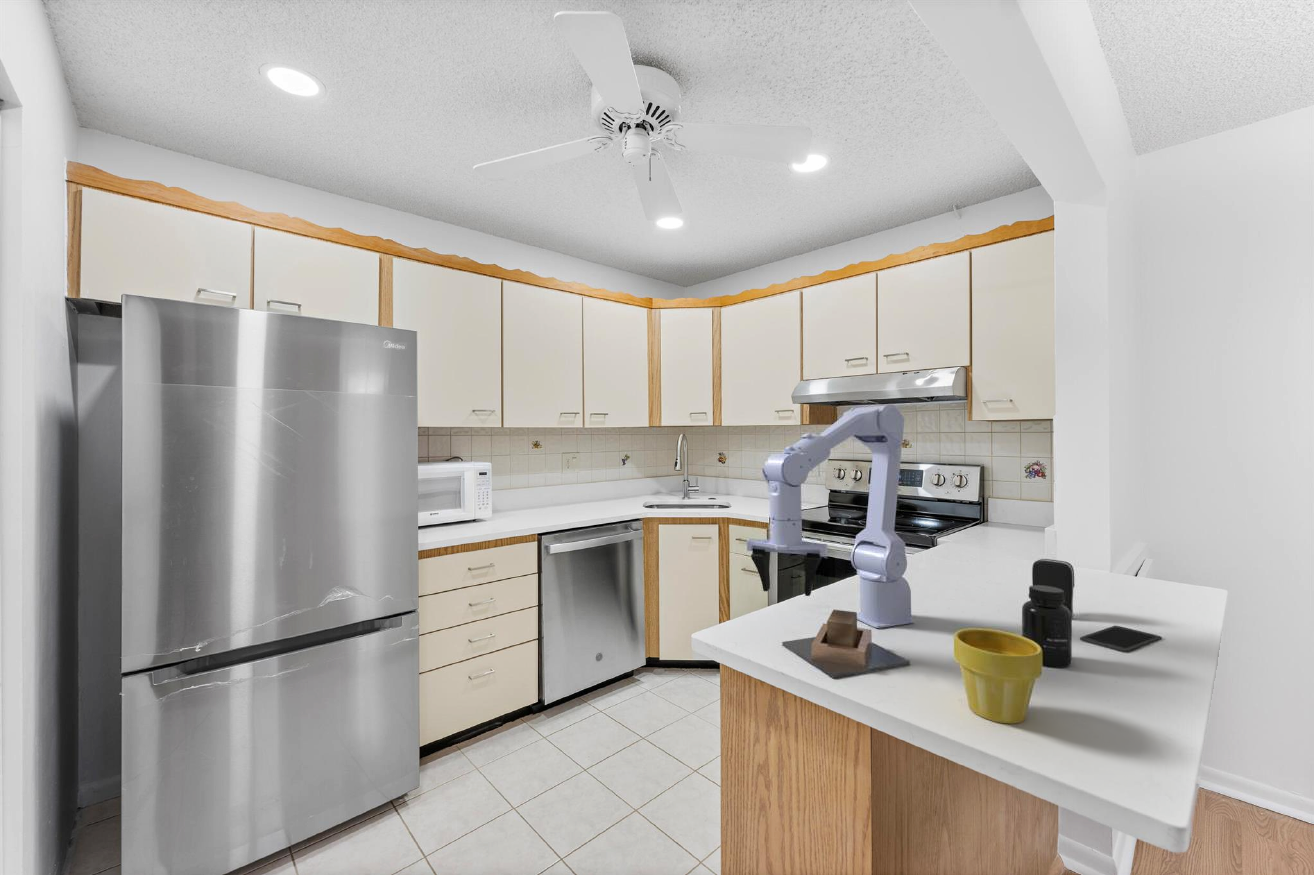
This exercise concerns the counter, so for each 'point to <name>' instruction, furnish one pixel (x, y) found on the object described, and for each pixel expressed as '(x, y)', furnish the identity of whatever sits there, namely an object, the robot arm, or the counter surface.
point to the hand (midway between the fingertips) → (787, 592)
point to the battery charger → (1055, 577)
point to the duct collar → (845, 654)
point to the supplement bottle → (1048, 624)
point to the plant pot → (997, 672)
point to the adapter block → (842, 628)
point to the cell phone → (1120, 639)
